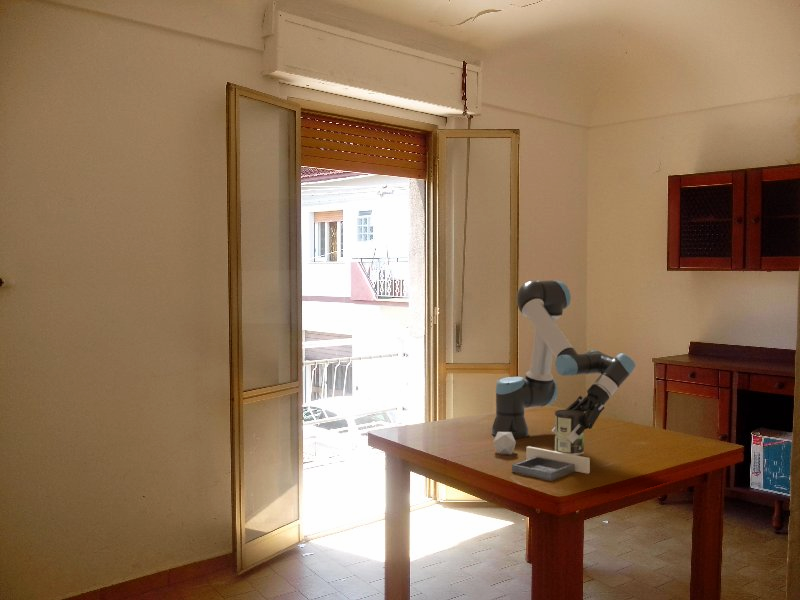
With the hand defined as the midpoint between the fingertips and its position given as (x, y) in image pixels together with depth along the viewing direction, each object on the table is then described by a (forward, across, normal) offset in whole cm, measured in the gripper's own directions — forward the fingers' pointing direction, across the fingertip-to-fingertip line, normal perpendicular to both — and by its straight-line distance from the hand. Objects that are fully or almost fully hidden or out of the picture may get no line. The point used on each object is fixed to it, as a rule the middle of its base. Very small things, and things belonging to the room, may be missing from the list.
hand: (561, 436), depth 250 cm
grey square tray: (+15, -8, +2) cm, 17 cm away
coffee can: (+2, 0, -6) cm, 6 cm away
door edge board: (+9, -4, -4) cm, 11 cm away
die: (+16, +18, +2) cm, 25 cm away
